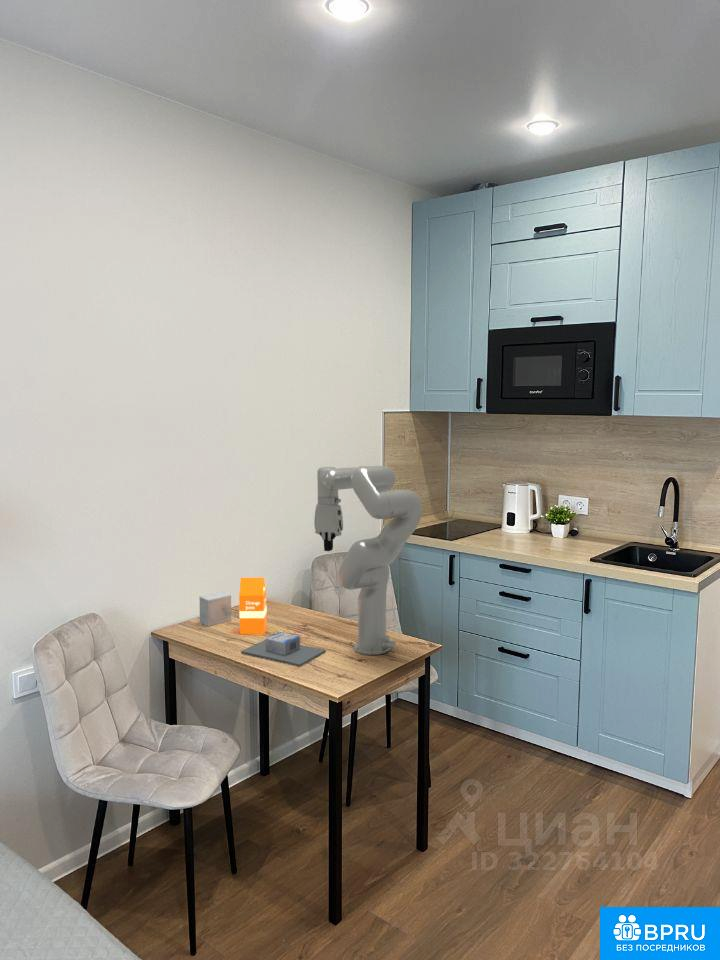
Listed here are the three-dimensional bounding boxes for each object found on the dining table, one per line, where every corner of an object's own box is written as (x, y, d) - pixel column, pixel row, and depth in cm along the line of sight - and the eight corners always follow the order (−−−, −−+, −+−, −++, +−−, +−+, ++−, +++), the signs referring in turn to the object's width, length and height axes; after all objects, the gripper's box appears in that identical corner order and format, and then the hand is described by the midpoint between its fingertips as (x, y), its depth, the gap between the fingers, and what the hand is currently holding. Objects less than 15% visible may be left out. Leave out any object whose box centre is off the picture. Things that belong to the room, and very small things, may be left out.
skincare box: (208, 627, 268) (207, 599, 267) (199, 623, 273) (198, 596, 272) (232, 621, 276) (231, 594, 274) (222, 617, 280) (222, 591, 279)
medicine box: (285, 643, 236) (265, 637, 240) (285, 656, 236) (265, 650, 241) (300, 636, 242) (280, 631, 247) (300, 649, 243) (280, 644, 248)
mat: (325, 652, 242) (325, 649, 242) (300, 666, 229) (300, 664, 229) (268, 640, 254) (268, 637, 254) (241, 653, 241) (241, 651, 241)
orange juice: (243, 627, 268) (242, 574, 266) (267, 627, 268) (266, 574, 266) (239, 634, 260) (238, 580, 258) (264, 634, 260) (263, 580, 258)
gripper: (350, 501, 261) (351, 550, 264) (316, 498, 269) (317, 546, 271) (340, 503, 255) (340, 554, 257) (305, 500, 263) (305, 550, 265)
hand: (328, 550), depth 264 cm, fingers closed
